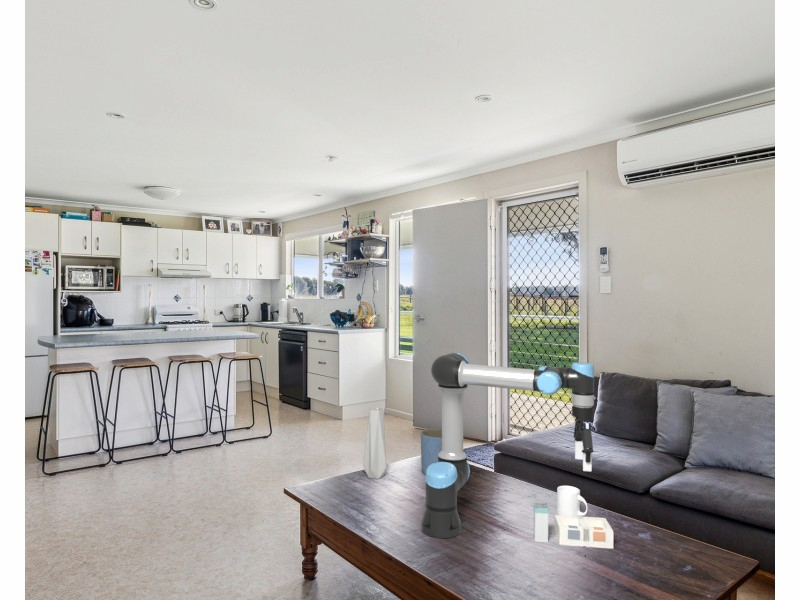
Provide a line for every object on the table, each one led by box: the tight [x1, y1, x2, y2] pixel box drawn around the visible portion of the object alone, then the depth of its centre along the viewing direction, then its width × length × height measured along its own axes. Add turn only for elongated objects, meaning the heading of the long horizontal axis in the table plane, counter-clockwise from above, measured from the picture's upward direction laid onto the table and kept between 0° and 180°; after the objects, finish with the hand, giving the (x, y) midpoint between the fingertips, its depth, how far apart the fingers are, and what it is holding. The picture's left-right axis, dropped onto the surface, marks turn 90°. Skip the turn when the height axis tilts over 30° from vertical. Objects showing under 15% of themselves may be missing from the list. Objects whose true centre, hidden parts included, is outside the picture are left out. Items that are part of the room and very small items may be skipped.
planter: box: [420, 427, 442, 477], centre depth 252 cm, size 19×19×20 cm
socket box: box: [554, 514, 614, 550], centre depth 180 cm, size 18×11×6 cm, turn 82°
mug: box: [556, 485, 588, 517], centre depth 199 cm, size 9×12×11 cm
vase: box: [362, 407, 388, 480], centre depth 245 cm, size 12×12×33 cm
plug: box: [533, 502, 549, 543], centre depth 180 cm, size 5×5×12 cm
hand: (582, 464), depth 181 cm, fingers open, 13 cm apart
